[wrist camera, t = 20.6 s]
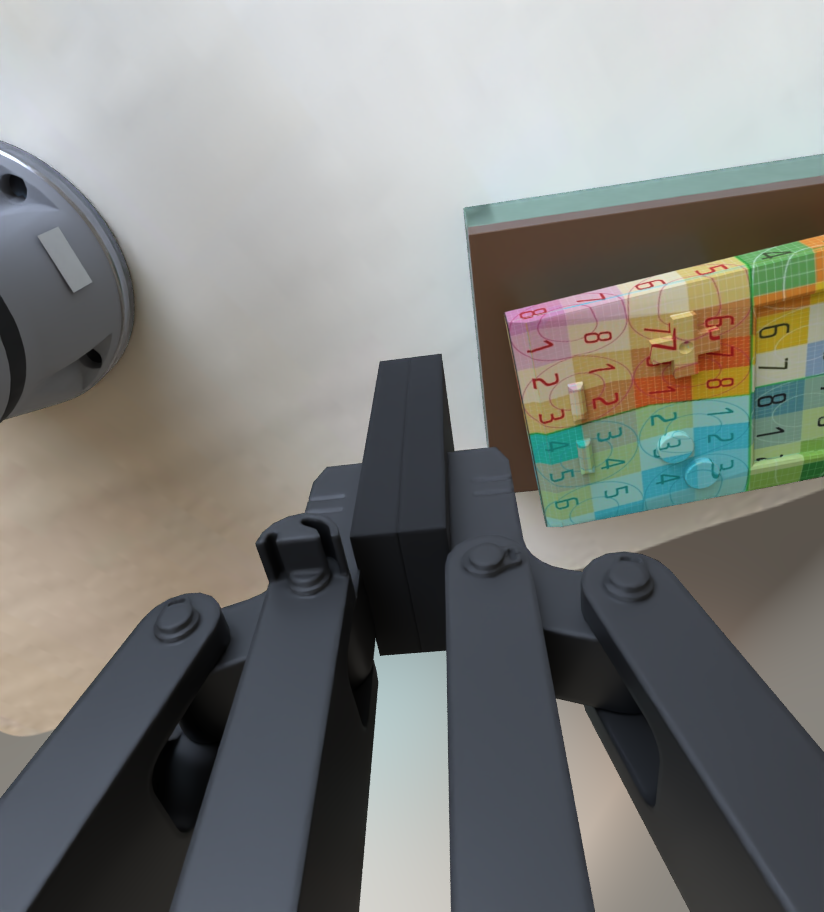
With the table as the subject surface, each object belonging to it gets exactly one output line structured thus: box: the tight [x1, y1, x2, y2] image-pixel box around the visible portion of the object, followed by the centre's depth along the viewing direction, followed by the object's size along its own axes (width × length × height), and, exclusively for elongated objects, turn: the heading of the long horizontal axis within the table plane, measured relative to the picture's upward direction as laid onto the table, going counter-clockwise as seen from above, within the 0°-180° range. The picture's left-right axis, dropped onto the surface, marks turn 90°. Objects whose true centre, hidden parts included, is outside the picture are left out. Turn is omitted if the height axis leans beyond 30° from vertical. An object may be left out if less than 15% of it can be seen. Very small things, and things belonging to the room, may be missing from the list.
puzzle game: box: [504, 235, 824, 527], centre depth 30 cm, size 12×5×20 cm
